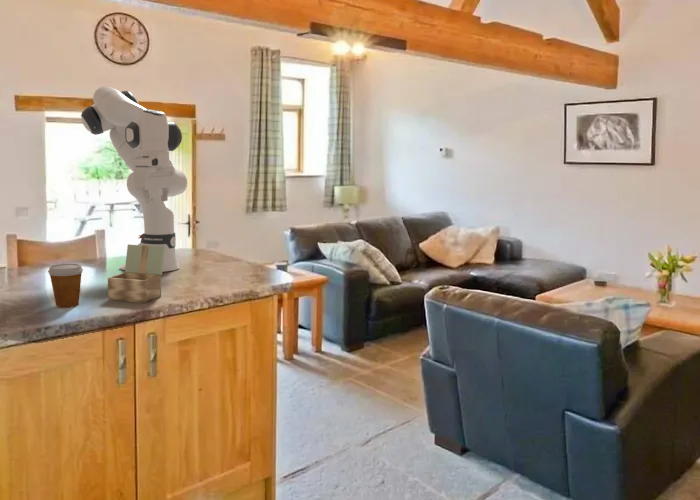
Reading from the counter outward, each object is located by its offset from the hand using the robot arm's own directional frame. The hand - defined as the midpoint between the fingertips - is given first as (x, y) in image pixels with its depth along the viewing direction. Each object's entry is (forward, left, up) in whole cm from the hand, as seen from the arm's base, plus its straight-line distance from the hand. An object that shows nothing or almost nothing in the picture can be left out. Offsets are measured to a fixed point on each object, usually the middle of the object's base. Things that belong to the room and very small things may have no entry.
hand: (156, 202), depth 205 cm
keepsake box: (0, -14, -29) cm, 33 cm away
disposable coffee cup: (-14, -28, -30) cm, 43 cm away
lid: (0, -9, -18) cm, 20 cm away
